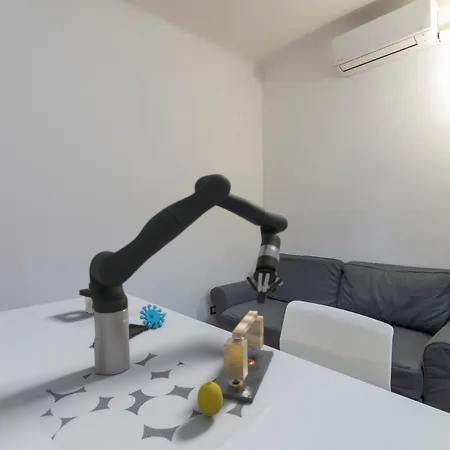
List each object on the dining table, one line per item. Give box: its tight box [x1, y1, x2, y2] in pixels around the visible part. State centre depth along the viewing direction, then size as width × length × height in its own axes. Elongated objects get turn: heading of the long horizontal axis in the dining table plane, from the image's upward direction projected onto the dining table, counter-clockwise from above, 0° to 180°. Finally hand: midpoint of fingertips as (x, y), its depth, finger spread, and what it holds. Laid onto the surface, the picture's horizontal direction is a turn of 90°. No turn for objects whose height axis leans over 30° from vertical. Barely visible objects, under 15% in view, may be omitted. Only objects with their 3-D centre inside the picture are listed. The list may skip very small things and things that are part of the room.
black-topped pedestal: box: [78, 281, 94, 314], centre depth 155 cm, size 28×26×13 cm
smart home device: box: [92, 323, 148, 348], centre depth 128 cm, size 8×2×20 cm
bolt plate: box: [213, 337, 274, 404], centre depth 100 cm, size 27×11×12 cm, turn 162°
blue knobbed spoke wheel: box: [139, 304, 168, 330], centre depth 140 cm, size 11×6×10 cm
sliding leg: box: [231, 310, 264, 350], centre depth 102 cm, size 20×5×12 cm, turn 162°
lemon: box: [197, 380, 224, 418], centre depth 80 cm, size 6×6×8 cm
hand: (260, 304), depth 119 cm, fingers closed
